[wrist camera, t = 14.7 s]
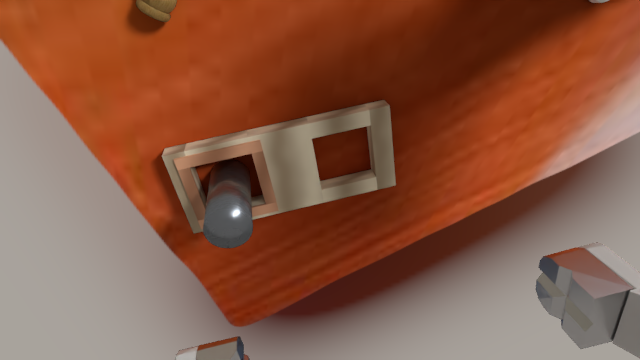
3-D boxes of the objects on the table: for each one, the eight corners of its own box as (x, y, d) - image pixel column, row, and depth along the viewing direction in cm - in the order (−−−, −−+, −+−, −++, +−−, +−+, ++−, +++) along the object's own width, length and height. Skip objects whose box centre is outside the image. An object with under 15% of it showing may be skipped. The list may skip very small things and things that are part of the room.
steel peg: (244, 155, 43) (245, 203, 35) (254, 188, 46) (257, 241, 37) (204, 164, 43) (196, 215, 34) (216, 197, 45) (211, 253, 37)
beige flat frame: (383, 99, 43) (390, 106, 41) (390, 177, 48) (396, 186, 46) (164, 148, 41) (161, 157, 39) (195, 223, 46) (193, 235, 44)
